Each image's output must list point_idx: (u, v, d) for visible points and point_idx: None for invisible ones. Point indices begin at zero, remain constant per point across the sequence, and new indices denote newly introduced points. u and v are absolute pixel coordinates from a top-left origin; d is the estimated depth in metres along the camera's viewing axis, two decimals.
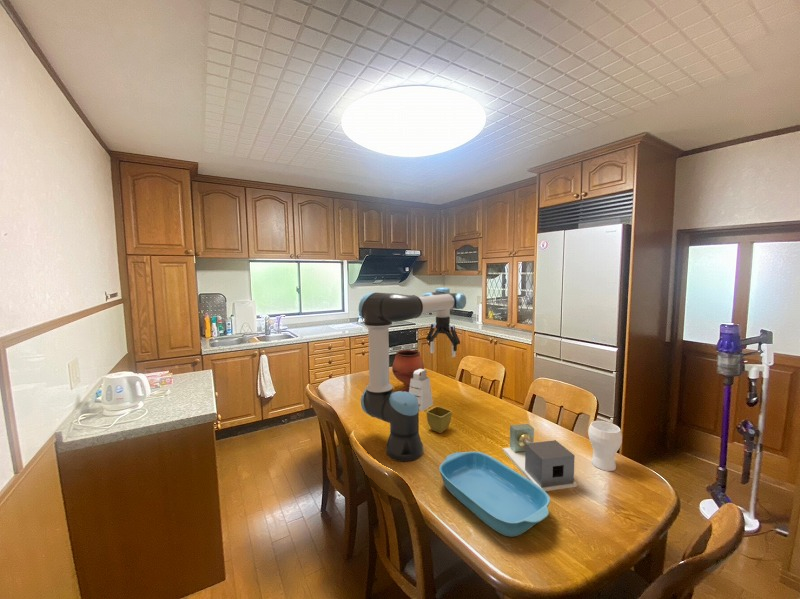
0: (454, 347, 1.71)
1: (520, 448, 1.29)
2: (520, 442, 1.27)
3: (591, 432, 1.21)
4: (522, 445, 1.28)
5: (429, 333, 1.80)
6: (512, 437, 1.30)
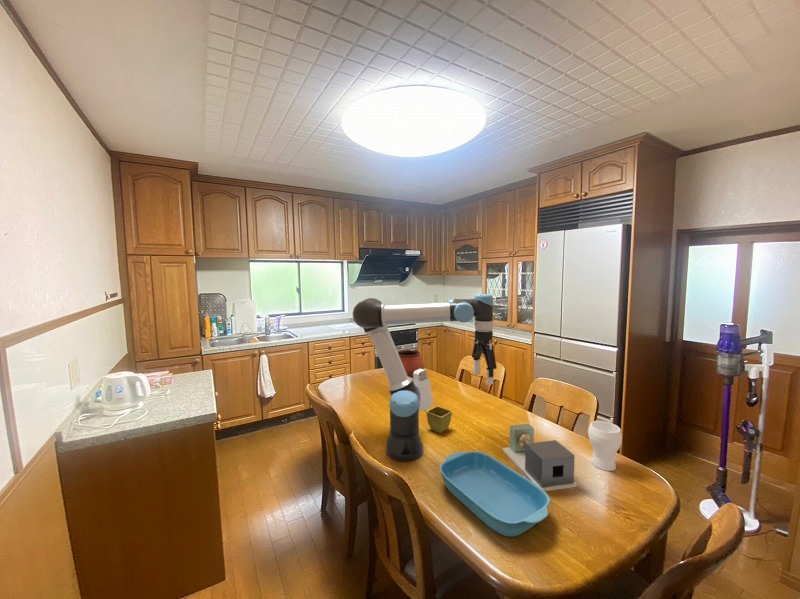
0: None
1: (520, 448, 1.29)
2: (520, 442, 1.27)
3: (591, 432, 1.21)
4: (522, 445, 1.28)
5: None
6: (512, 437, 1.30)
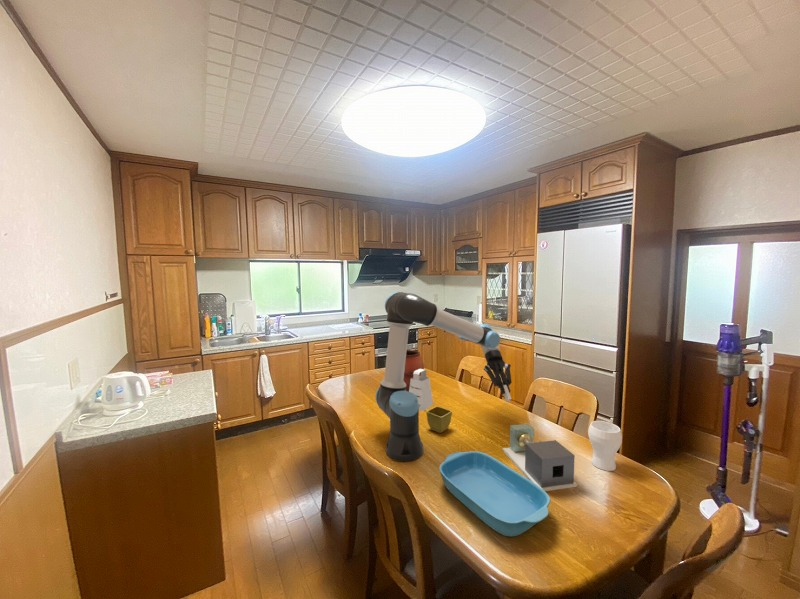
0: None
1: (520, 448, 1.29)
2: (520, 442, 1.27)
3: (591, 432, 1.21)
4: (522, 445, 1.28)
5: None
6: (512, 437, 1.30)
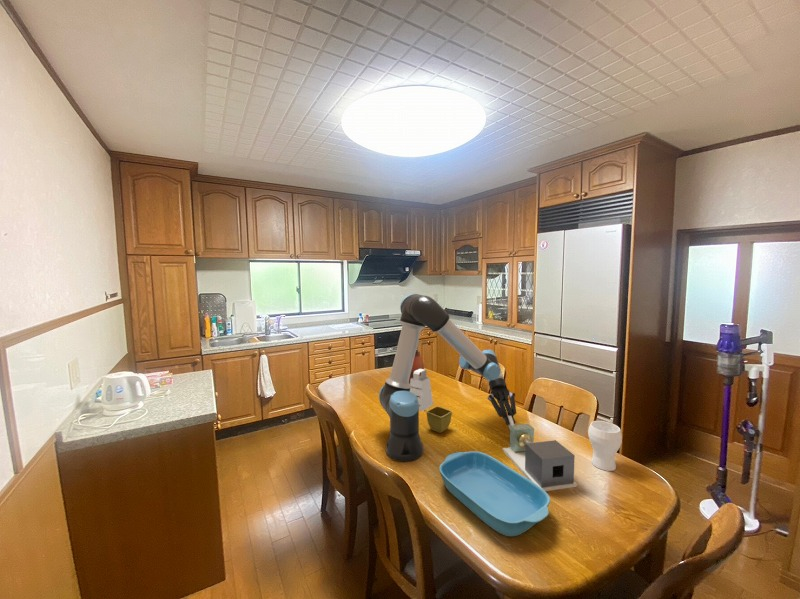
0: None
1: (520, 448, 1.29)
2: (520, 442, 1.27)
3: (591, 432, 1.21)
4: (522, 445, 1.28)
5: None
6: (512, 437, 1.30)
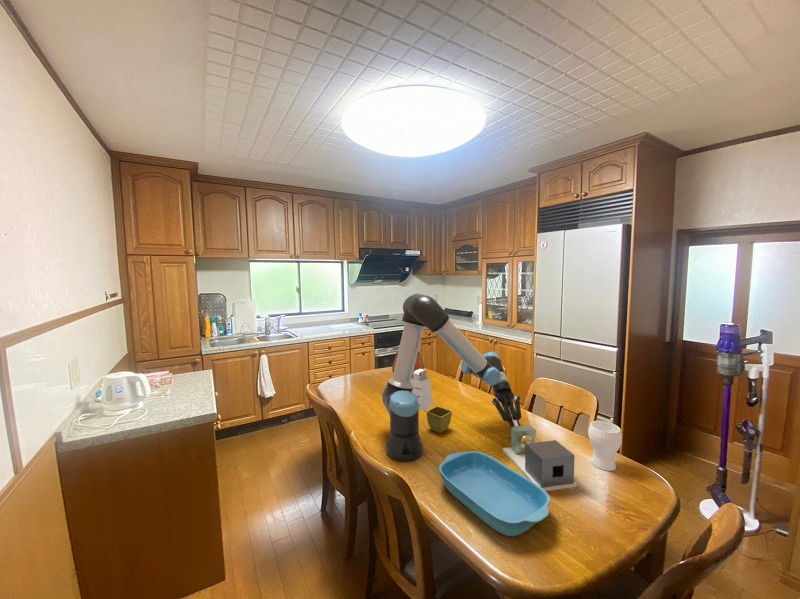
0: None
1: (521, 449, 1.28)
2: (521, 443, 1.26)
3: (591, 432, 1.21)
4: (523, 446, 1.27)
5: None
6: (514, 438, 1.29)
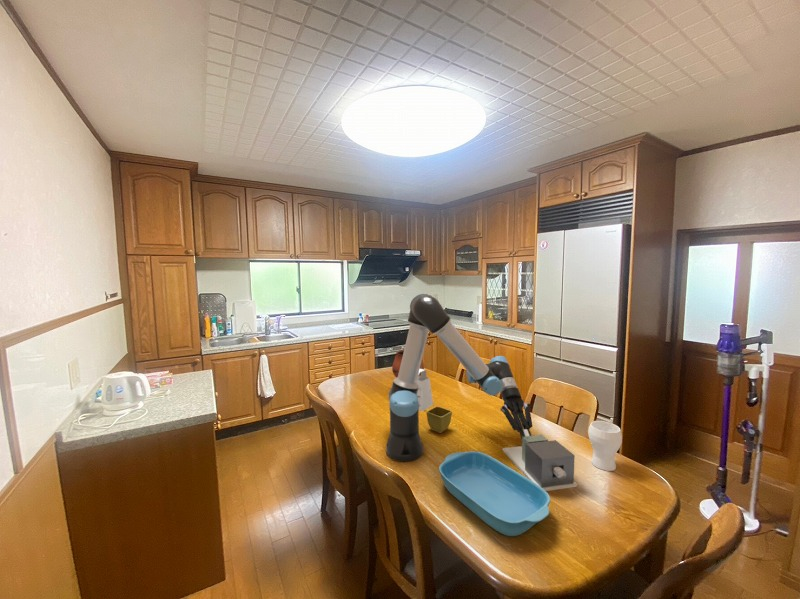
0: None
1: None
2: None
3: (591, 432, 1.21)
4: None
5: None
6: None
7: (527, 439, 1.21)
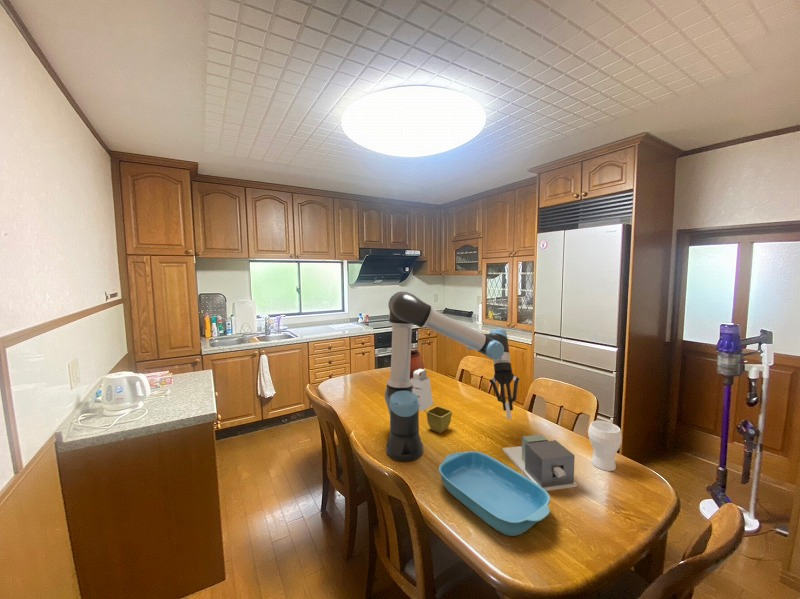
0: None
1: None
2: None
3: (591, 432, 1.21)
4: None
5: None
6: None
7: (527, 439, 1.21)
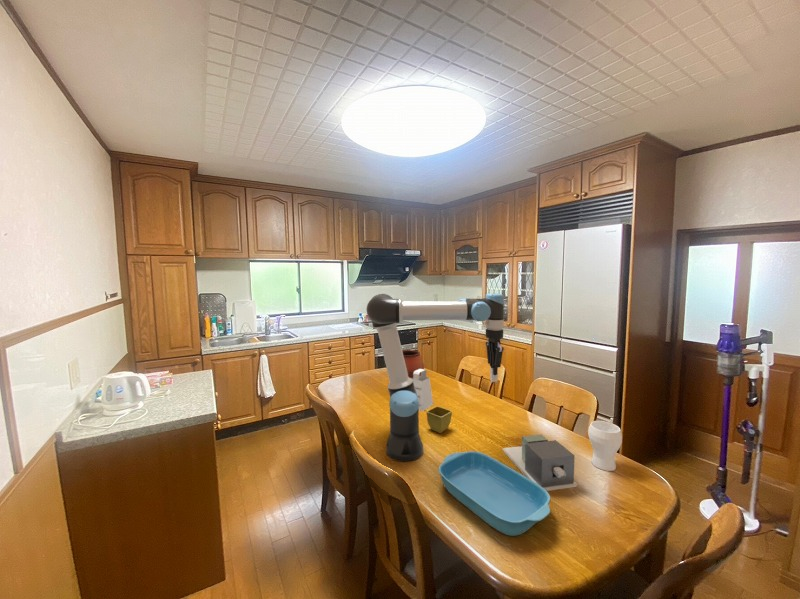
0: None
1: None
2: None
3: (591, 432, 1.21)
4: None
5: None
6: None
7: (527, 439, 1.21)
